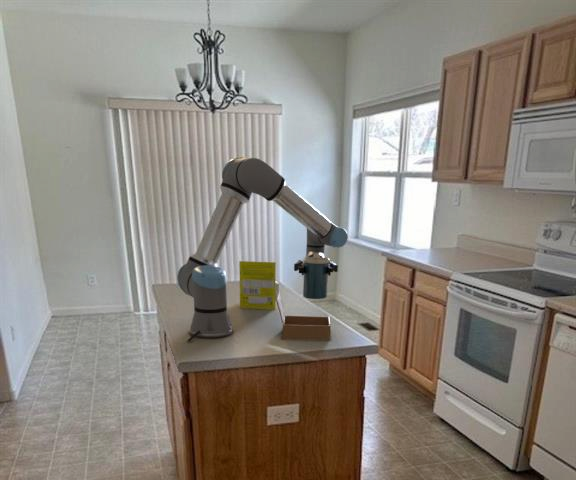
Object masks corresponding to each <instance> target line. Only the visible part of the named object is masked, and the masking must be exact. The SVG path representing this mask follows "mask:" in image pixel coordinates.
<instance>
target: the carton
mask: <svg viewBox="0 0 576 480" xmlns="http://www.w3.org/2000/svg"><path fill="white" fill-rule="evenodd" d="M282 339H283V340H284V339H285V340H317V341H318V340H320V341H321V340H322V341H330V340H331V321H330V316H318V315H317V316H315V315H314V316H313V315H307V316H306V315H284V321H283V323H282Z"/></svg>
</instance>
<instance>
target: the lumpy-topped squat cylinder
mask: <svg viewBox="0 0 576 480" xmlns="http://www.w3.org/2000/svg"><path fill="white" fill-rule="evenodd" d="M278 293H279V294H280V283H279V282H278V281H277V280H275V301H276V300H277V296H278Z"/></svg>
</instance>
